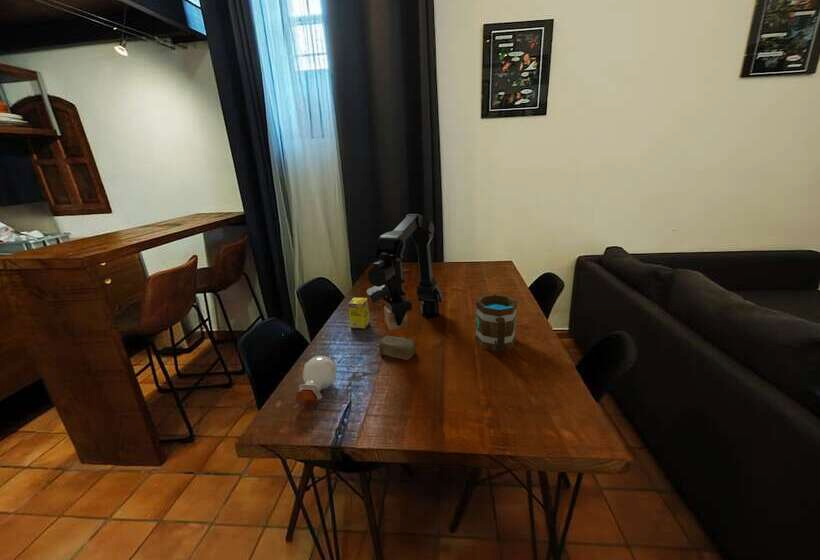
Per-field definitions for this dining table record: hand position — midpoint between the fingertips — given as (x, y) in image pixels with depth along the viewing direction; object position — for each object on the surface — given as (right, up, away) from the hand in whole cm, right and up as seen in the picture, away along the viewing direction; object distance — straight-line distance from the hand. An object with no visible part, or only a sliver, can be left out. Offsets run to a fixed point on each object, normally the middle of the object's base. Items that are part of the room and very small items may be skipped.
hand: (396, 321), depth 111 cm
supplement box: (-15, -5, +23) cm, 28 cm away
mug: (+34, -9, +5) cm, 35 cm away
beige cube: (0, -1, 0) cm, 1 cm away
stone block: (0, -12, +3) cm, 12 cm away
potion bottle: (-21, -19, -14) cm, 32 cm away
